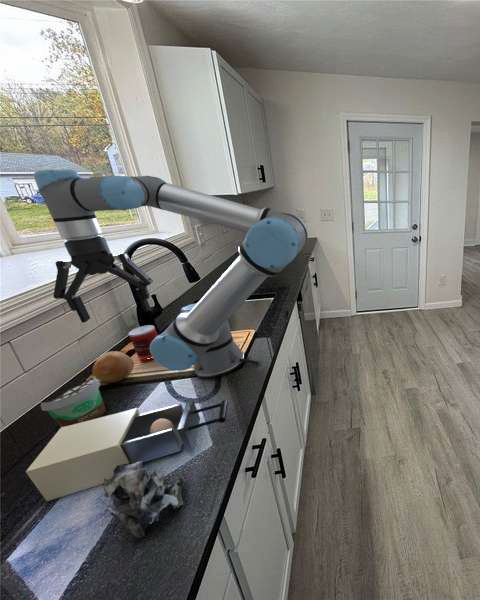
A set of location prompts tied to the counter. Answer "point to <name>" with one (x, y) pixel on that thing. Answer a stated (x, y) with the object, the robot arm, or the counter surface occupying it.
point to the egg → (161, 425)
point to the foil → (140, 496)
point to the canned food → (143, 341)
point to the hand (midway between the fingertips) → (117, 315)
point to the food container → (77, 404)
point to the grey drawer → (166, 431)
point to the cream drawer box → (81, 455)
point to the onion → (113, 367)
